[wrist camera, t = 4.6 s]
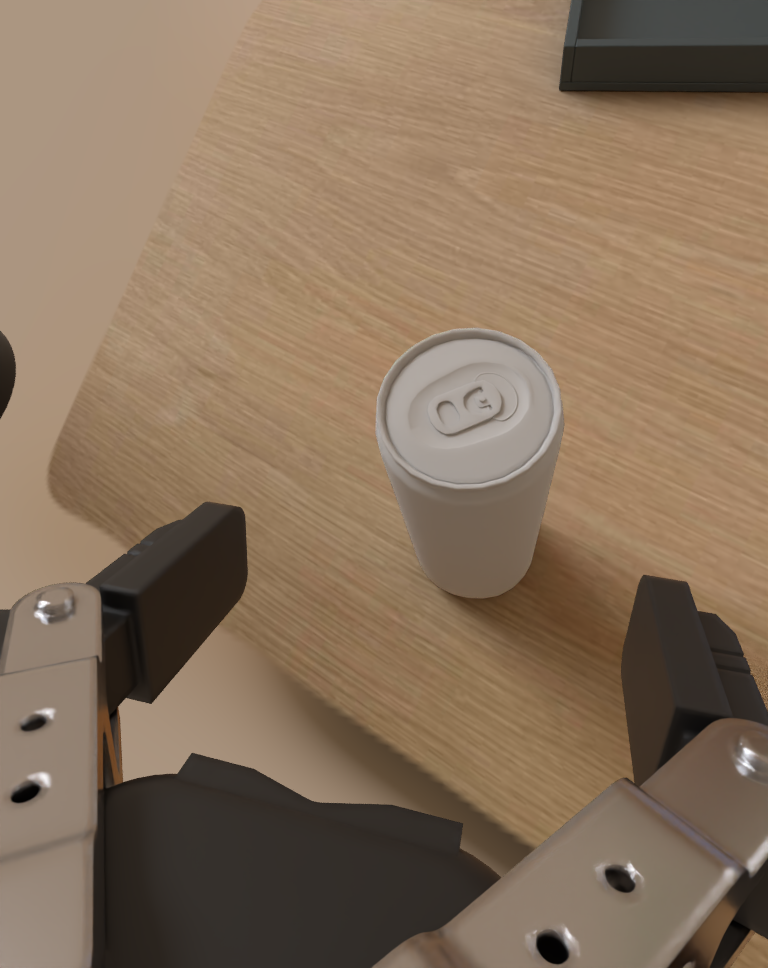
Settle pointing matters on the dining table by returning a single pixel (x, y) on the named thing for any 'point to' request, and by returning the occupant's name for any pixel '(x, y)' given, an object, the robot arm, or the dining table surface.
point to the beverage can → (471, 454)
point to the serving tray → (666, 46)
